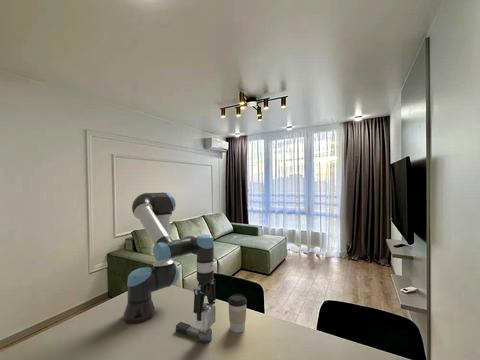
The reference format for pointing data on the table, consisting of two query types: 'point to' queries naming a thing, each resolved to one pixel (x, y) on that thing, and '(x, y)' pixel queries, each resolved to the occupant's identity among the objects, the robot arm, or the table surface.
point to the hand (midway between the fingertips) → (205, 322)
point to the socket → (207, 315)
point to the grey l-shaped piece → (195, 332)
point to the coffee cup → (237, 312)
